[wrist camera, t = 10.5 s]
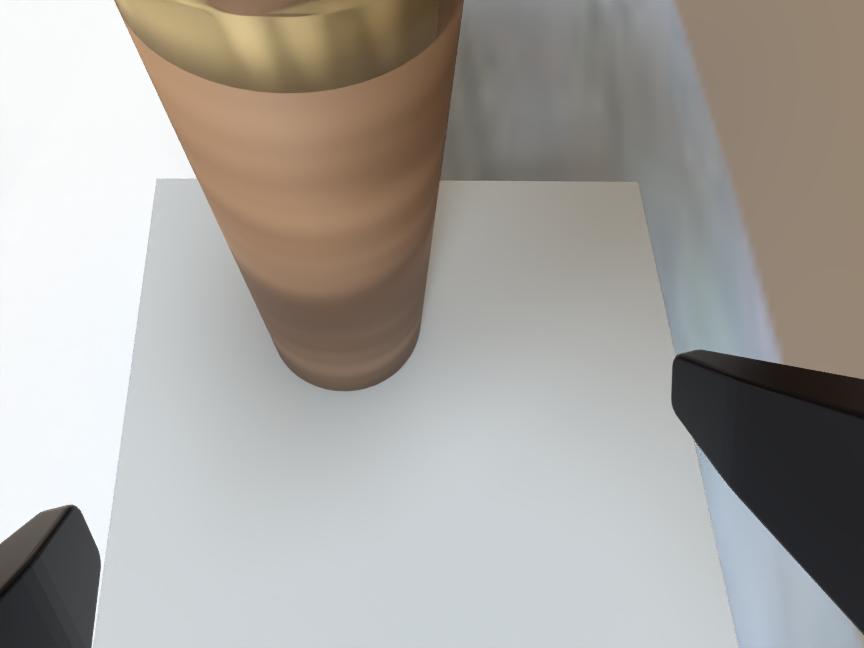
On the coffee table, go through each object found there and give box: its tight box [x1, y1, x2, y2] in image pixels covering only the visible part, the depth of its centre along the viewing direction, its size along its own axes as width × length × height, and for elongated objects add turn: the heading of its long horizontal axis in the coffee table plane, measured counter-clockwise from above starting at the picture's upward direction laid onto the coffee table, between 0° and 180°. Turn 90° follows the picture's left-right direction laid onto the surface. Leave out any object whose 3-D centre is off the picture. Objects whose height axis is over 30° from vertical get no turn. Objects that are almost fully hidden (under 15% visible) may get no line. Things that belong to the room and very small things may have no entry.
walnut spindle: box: [114, 0, 464, 391], centre depth 13 cm, size 4×4×12 cm
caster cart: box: [93, 179, 739, 648], centre depth 18 cm, size 22×16×4 cm
